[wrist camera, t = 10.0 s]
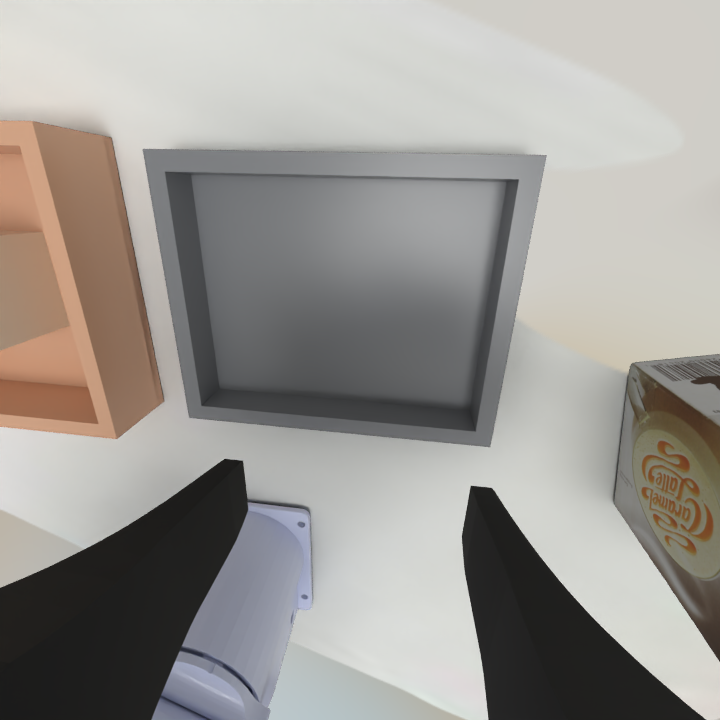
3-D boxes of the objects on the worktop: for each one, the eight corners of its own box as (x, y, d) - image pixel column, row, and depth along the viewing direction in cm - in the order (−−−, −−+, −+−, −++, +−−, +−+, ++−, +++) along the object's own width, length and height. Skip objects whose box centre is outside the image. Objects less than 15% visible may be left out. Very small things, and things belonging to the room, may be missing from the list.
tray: (481, 420, 21) (490, 447, 18) (212, 395, 22) (189, 417, 20) (527, 161, 16) (546, 155, 14) (178, 155, 18) (142, 149, 15)
